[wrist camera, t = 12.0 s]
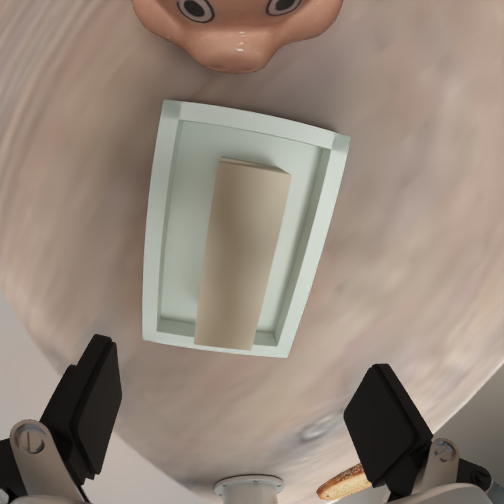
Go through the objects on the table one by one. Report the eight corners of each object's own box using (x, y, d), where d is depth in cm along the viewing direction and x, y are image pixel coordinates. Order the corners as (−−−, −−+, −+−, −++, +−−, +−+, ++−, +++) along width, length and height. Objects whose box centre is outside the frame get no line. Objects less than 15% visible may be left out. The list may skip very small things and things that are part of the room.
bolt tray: (282, 340, 27) (287, 357, 24) (148, 322, 25) (142, 340, 22) (337, 136, 20) (351, 137, 18) (171, 103, 18) (163, 99, 16)
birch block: (277, 166, 20) (292, 175, 15) (246, 311, 24) (251, 350, 20) (220, 156, 20) (218, 162, 15) (198, 305, 24) (193, 344, 19)
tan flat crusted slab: (314, 496, 47) (317, 508, 44) (321, 468, 40) (326, 484, 37) (386, 475, 48) (391, 487, 44) (409, 441, 41) (416, 455, 37)
